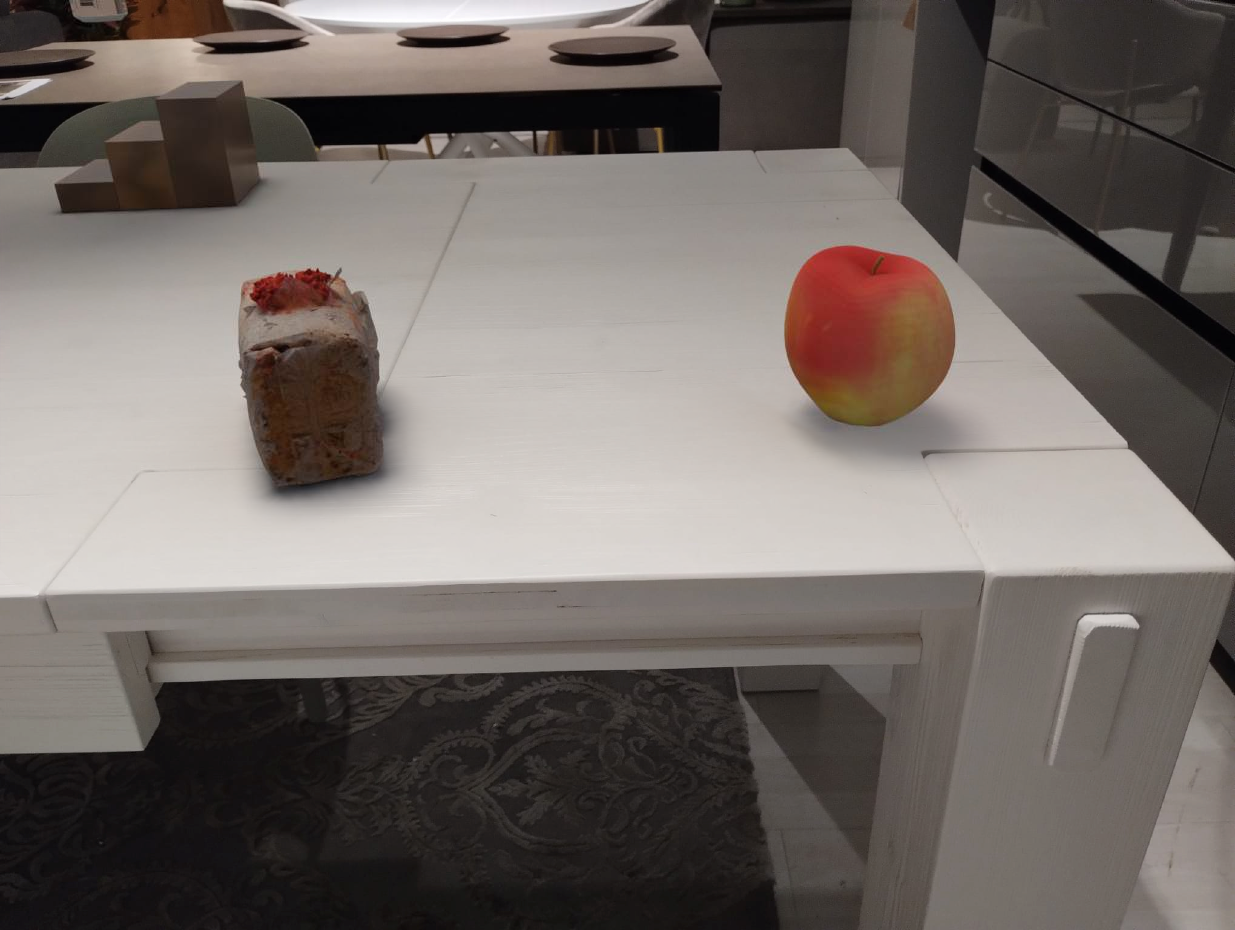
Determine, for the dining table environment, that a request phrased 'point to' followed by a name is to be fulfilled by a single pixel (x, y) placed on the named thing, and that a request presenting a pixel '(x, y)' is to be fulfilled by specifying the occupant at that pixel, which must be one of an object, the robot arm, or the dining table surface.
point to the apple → (868, 334)
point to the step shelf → (173, 156)
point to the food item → (310, 376)
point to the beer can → (99, 10)
